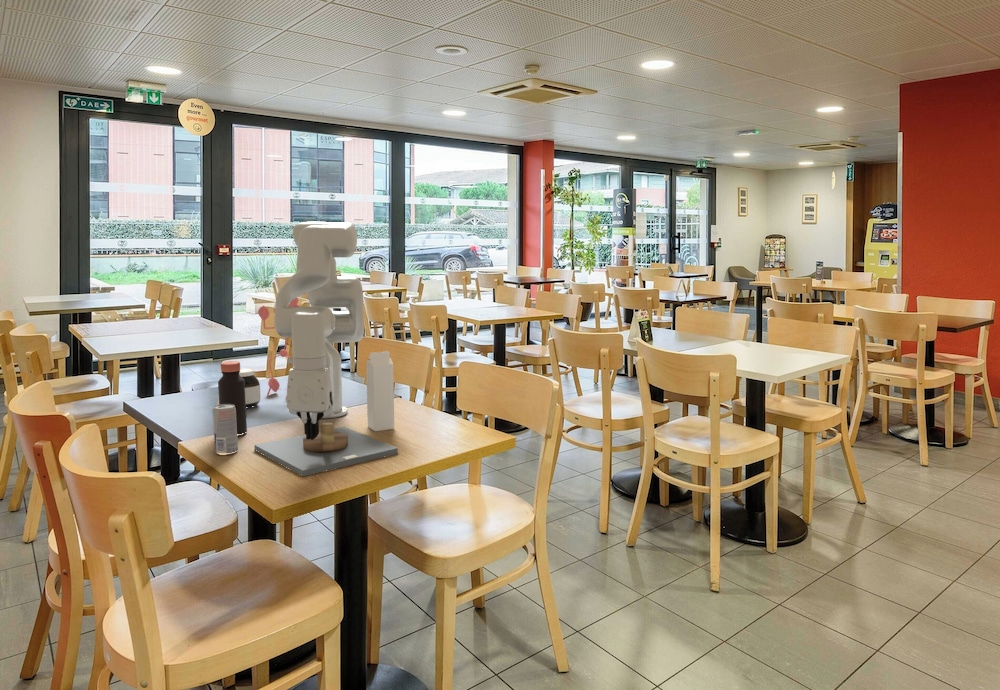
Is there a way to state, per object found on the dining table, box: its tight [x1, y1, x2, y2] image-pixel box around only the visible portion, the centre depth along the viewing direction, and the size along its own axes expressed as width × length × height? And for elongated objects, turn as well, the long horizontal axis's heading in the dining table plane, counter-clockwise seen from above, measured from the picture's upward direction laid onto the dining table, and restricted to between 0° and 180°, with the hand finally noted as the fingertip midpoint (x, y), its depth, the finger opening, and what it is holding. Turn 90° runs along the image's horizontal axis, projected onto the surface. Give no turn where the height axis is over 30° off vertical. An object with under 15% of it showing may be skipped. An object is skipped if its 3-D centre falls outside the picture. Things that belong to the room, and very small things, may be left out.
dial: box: [303, 422, 348, 452], centre depth 175 cm, size 16×11×8 cm
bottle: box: [217, 360, 248, 434], centre depth 192 cm, size 7×7×20 cm
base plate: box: [254, 426, 399, 477], centre depth 178 cm, size 26×26×2 cm
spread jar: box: [216, 368, 261, 408], centre depth 223 cm, size 12×11×12 cm
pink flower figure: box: [257, 297, 301, 400], centre depth 239 cm, size 15×26×35 cm, turn 59°
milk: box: [365, 351, 395, 432], centre depth 200 cm, size 6×6×22 cm
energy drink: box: [212, 404, 239, 453], centre depth 177 cm, size 5×5×12 cm
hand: (312, 437), depth 169 cm, fingers closed
